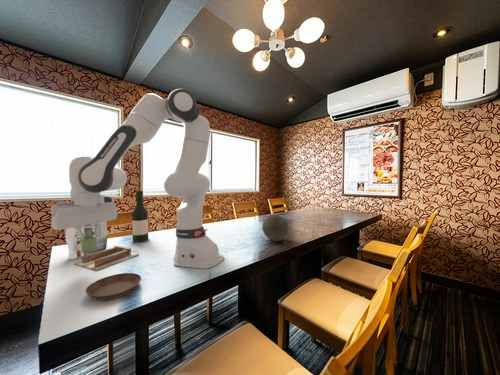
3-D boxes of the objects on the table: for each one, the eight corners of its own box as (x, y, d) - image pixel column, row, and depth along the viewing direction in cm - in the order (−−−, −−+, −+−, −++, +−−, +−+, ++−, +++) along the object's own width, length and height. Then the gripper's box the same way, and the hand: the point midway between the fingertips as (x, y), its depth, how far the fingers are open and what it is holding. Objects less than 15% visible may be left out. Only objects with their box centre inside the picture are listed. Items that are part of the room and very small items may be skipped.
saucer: (134, 275, 75) (134, 268, 75) (147, 291, 64) (146, 283, 64) (83, 290, 65) (83, 282, 65) (88, 312, 54) (87, 302, 54)
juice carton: (87, 253, 98) (85, 198, 97) (81, 249, 104) (79, 197, 103) (109, 248, 105) (107, 197, 104) (101, 245, 111) (100, 196, 110)
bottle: (99, 249, 78) (98, 227, 78) (85, 253, 74) (84, 229, 74) (92, 248, 80) (91, 226, 80) (79, 252, 76) (77, 228, 76)
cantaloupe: (272, 236, 125) (272, 212, 125) (292, 241, 116) (292, 215, 115) (257, 241, 115) (257, 215, 115) (277, 247, 106) (277, 218, 105)
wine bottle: (151, 238, 123) (150, 189, 122) (142, 242, 115) (141, 190, 114) (138, 238, 124) (137, 189, 123) (129, 242, 116) (127, 190, 115)
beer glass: (89, 255, 96) (88, 224, 95) (72, 260, 89) (71, 227, 89) (80, 253, 98) (78, 223, 98) (62, 258, 92) (61, 226, 91)
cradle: (138, 255, 95) (138, 247, 95) (96, 270, 79) (96, 261, 79) (117, 250, 102) (116, 243, 102) (74, 264, 85) (74, 255, 85)
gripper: (55, 203, 66) (58, 245, 66) (118, 197, 84) (120, 230, 85) (45, 203, 68) (48, 243, 69) (109, 197, 87) (111, 229, 87)
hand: (88, 236), depth 77 cm, fingers closed on bottle, 2 cm apart
